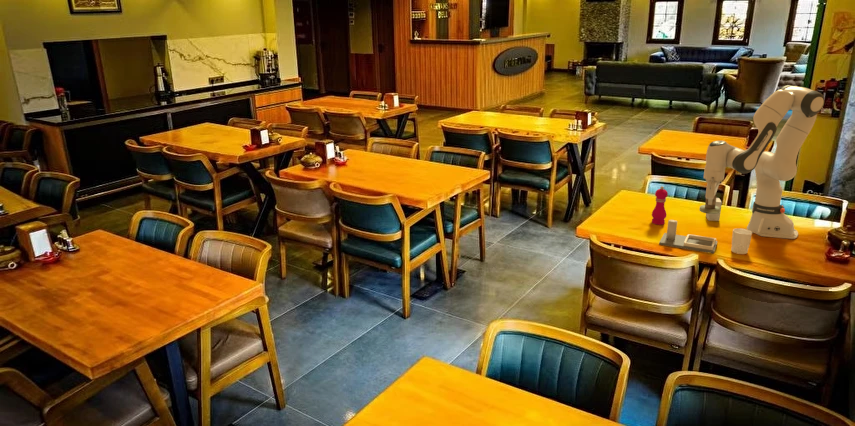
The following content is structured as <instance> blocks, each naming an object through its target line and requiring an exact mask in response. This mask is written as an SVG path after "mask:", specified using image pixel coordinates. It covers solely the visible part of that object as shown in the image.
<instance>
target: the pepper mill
mask: <svg viewBox="0 0 855 426" xmlns="http://www.w3.org/2000/svg"><path fill="white" fill-rule="evenodd" d="M664 188H665V187H664V186H663V185H661V186H660V187H659V188H658V189H656V191H655V192H654V195H655V202H656V203H655V206H654V208H653V210H652V212H651V217H652V219H651V223H652V224H654V225H657V226H658V225H659V226H662V225H665V221H666V220H665V219H666V218H667V211H666V208H665V203H666V201H667V197H668V191H667V190H666V189H664Z"/></svg>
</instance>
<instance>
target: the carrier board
mask: <svg viewBox="0 0 855 426" xmlns="http://www.w3.org/2000/svg"><path fill="white" fill-rule="evenodd" d="M677 226H678V221H677V220H676V219H675V220H674V219H669V220H668V222H667V228H666V229H667V230H666V232H664V233H663V235H662V237H661V239H660V240H659V242H658V245H660V246H666V247H672V248H678V249H683V250H690V251H697V252H703V253H708V254H709V253H710V254H715V251H716V247H717V244H718V240H717V237H711V236H702V235H696V234H689V233H688V234H687V235H680V234H677Z"/></svg>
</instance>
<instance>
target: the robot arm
mask: <svg viewBox="0 0 855 426" xmlns="http://www.w3.org/2000/svg"><path fill="white" fill-rule="evenodd" d="M824 105H825V96H824V94H822V93H821V92H819V91H818V90H813V89H810V88H808V87H804V86H803V87H802V86H796V85H791V84H787V85H784V86H782V87H781V88H779V89H778V90H775V91H774V92H773V93H772V94H770V95H769V96H768V97H767V98H766V99H765V100H764V101H763V102H762V104H760V106H759V107H758V108H757V109H756V111H755V113H754V115H753V117H752V119H753V123H754V126H755V127H756V128H757V130H758V133H757V135H756V137H755V138H754V140H753V141H752V142H751V144H750V145H749V146H748V148H747V149H745V150H744V149H742V148H739V147H737V146H734V145H731V144H729V143H728V142H727V141H725V140H714V141H712V142H710V143H709V145H708V146H707V149H706V155H705V166H704V168H703V169H704V172H703V179H704V180H705V182H707V184H706V190H705V200H706V199H708V205H712V201H713V199H714V197H715V195H717V191H718V189H719V186H720V184H721V181H724V179H725V172H726V168H731V169H733V170H734V171H736V172H737V173H740V174H748V173H750V172H753V171H754V172H755V180H756V192H755V198H754V201H753V204H752V210H751V212H752V213H751V216H750V220H749V223H747V226H746V229H747V230H750V231H751V232H752V234H756V235H757V236H761V237H766V238H768V237H769V238H779V239H787V240H788V239H789V240H795V239H797V238H798V237H799V232H798V230H797V229H795V225H794V222H793V220H792V219H791V218H790V217H789V216H787V214H785V212H786V210H785V206H784V205H783V204H781V200H782V197H783V188H782V186H781V183H780V181H782V182H787V181H790V180H792V179H793V178H794V177H795V176H796V175H797V170H798V167H797V158H798V154H799V151H800V149H801V147H802V146H803V144H804V143H805V141H806V139H807V137H808V135H809V134H810V133H811V130H812V129H813V127H814V125H815V122H816V121H817V118H818V114H819V112H820V111H821V110H822V109H823V107H824ZM789 111H791V115H790V116H789V118H788V119H787V120H786V122H785V124H784V125H783V127H782V128H781V130H780V132H779V134H777V136H776V139H775V142H776V148H775V151H774V152H772V151H765V150H766V149H767V147H768V145H770V143H771V141H772V140H773V138H774V137H775V134H776V133H777V129H778V128H777V127H778V125H779V124H780V122H781V121H782V120H783V118H784V117H785V116H786V115H787V114H788V112H789Z"/></svg>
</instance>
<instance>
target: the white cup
mask: <svg viewBox="0 0 855 426" xmlns="http://www.w3.org/2000/svg"><path fill="white" fill-rule="evenodd" d="M752 235H753V232H751V231H750V230H748V229H747V228H741V227H740V228H733V229H732V236H731V252H732V253H734V254H738V255H745V254H747V253H748V251H749V248H750V245H751V240H752Z"/></svg>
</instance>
